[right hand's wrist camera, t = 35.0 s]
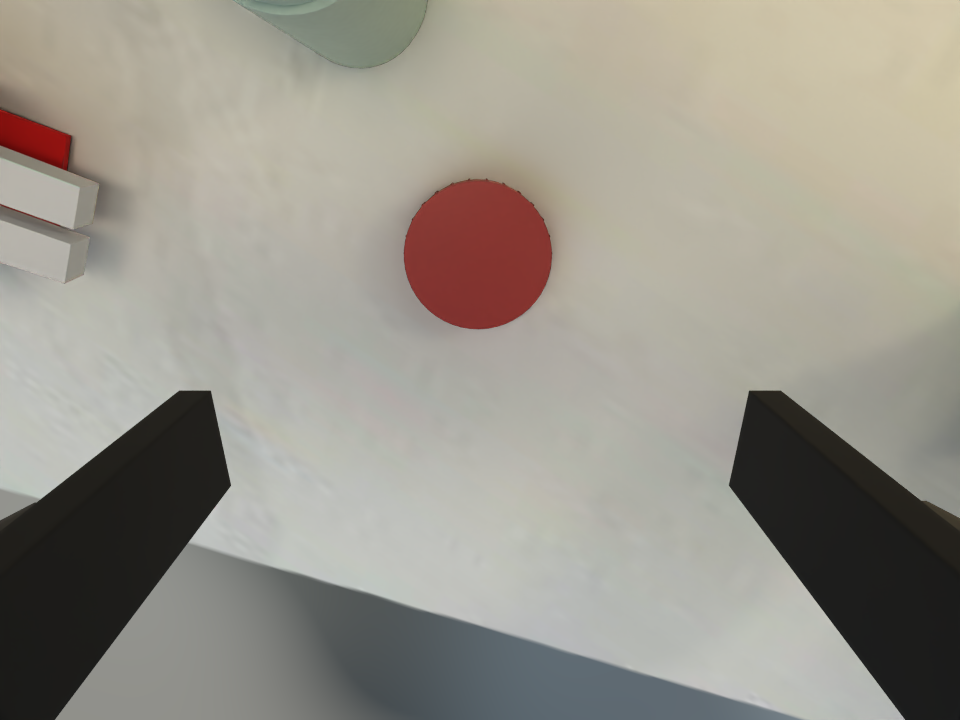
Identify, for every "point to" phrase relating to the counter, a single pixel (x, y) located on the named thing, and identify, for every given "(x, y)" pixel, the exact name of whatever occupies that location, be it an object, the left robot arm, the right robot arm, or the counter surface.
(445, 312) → the lid
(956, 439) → the counter surface
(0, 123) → the toy
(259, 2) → the jar
